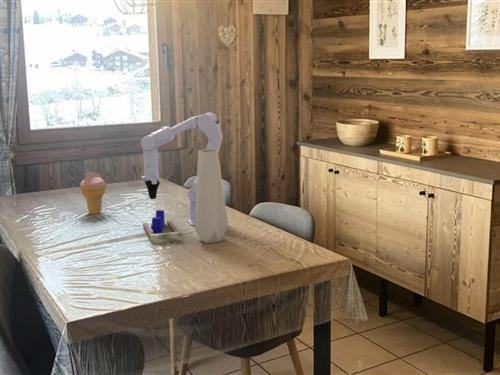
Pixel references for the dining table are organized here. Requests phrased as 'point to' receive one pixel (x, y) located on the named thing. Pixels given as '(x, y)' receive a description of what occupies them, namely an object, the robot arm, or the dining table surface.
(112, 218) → the dining table surface
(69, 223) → the dining table surface
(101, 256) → the dining table surface
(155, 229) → the cable clip
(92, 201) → the ice cream cone
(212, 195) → the vase
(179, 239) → the guide
